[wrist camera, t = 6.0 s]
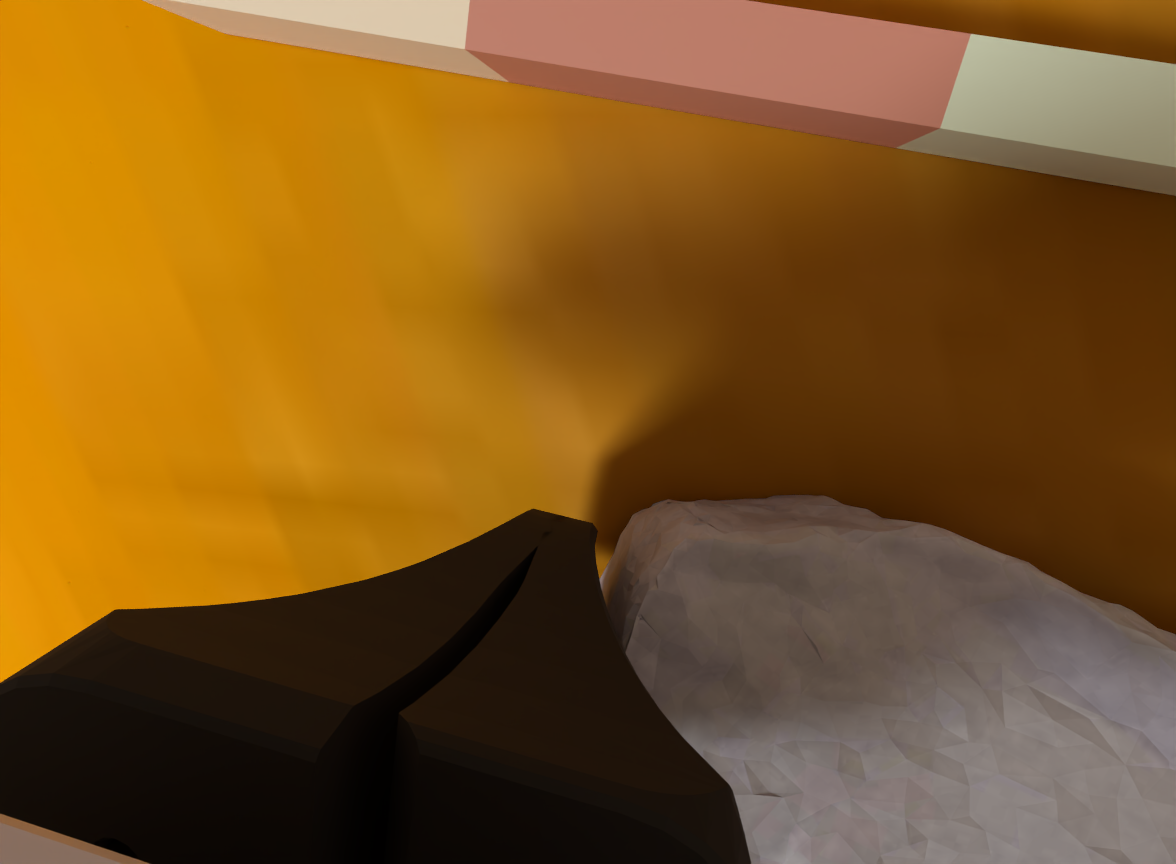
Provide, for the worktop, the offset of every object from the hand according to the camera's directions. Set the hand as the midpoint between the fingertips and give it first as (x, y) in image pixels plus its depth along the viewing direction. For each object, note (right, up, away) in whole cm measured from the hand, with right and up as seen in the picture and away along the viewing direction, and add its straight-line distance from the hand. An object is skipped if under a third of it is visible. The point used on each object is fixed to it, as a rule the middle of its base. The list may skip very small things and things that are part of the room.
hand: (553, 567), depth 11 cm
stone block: (+6, -3, +2) cm, 7 cm away
